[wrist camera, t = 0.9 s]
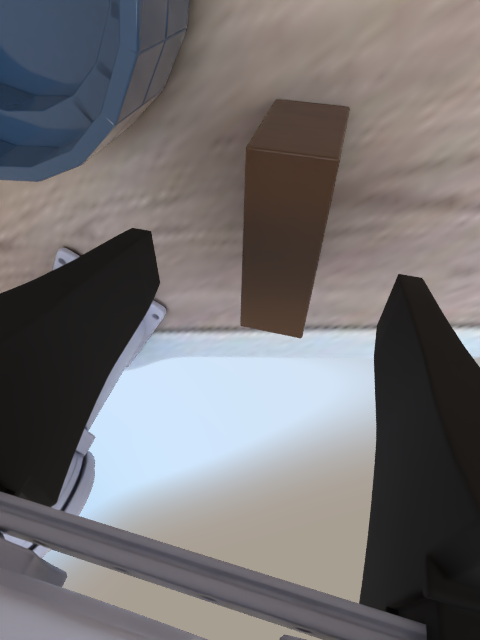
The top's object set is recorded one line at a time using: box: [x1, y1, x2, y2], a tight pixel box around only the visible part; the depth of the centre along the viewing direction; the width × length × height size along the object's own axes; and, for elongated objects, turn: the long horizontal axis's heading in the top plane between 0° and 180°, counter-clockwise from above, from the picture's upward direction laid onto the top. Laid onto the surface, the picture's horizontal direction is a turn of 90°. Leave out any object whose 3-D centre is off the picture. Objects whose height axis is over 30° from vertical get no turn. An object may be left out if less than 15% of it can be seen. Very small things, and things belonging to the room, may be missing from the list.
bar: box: [240, 99, 350, 338], centre depth 17 cm, size 8×3×5 cm, turn 179°
